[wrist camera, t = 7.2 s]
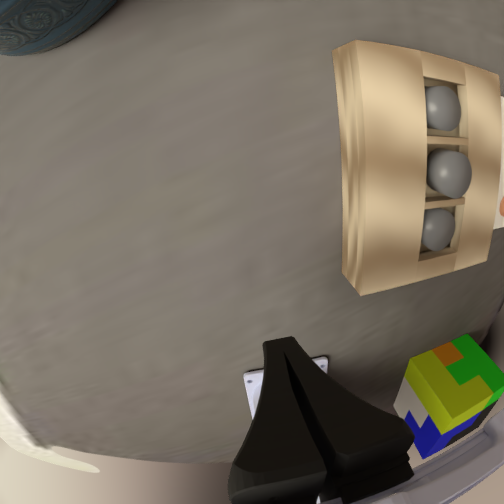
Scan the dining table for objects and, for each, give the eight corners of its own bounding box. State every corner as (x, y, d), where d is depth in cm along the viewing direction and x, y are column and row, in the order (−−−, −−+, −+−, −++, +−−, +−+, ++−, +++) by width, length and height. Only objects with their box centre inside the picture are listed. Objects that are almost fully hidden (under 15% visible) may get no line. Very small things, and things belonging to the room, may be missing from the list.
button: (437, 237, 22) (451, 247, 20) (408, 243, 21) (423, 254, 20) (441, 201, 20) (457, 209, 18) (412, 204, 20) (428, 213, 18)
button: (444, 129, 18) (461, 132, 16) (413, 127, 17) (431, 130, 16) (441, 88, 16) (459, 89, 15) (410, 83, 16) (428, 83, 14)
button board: (463, 245, 24) (486, 260, 21) (341, 272, 23) (360, 295, 20) (470, 74, 17) (498, 75, 14) (331, 50, 16) (355, 39, 13)
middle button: (452, 189, 19) (470, 197, 17) (422, 192, 18) (440, 200, 16) (454, 148, 17) (472, 153, 15) (424, 147, 17) (443, 152, 15)
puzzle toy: (392, 405, 34) (422, 459, 25) (409, 357, 30) (452, 419, 21) (446, 381, 35) (478, 426, 26) (467, 333, 31) (510, 381, 22)
